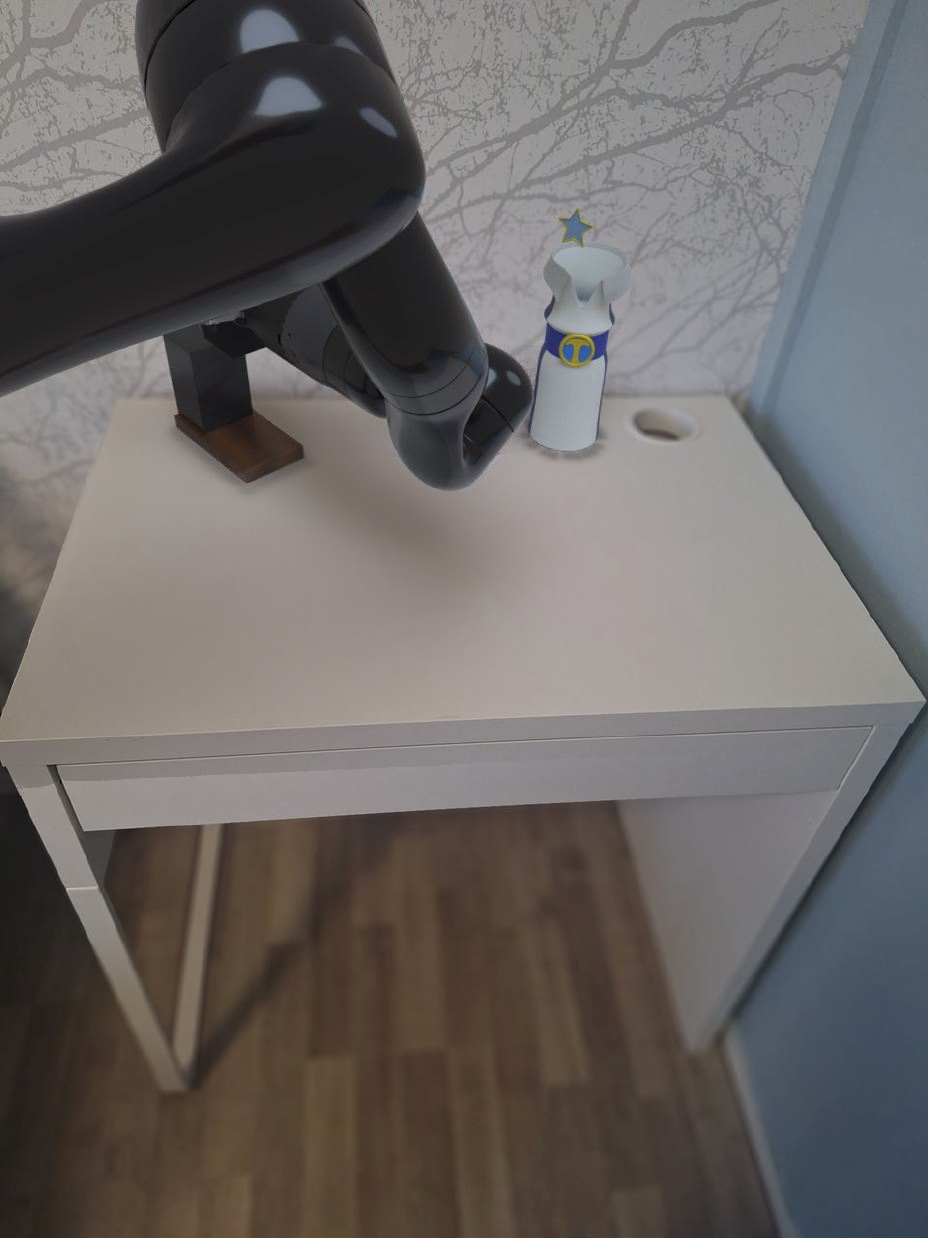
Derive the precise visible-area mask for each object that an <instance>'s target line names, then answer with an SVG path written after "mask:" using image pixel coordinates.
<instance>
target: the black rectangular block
mask: <svg viewBox="0 0 928 1238" xmlns="http://www.w3.org/2000/svg"><path fill="white" fill-rule="evenodd" d="M204 338H205V339H206V340H208V341H209V342H211V343H212V344H213V345H215V346H216V347H218V348H219V349H220V350H222V351H223V352H225V353H226V354H227V355H229V356H230V357H232V358H233V359H235V358H238V357H241V356H243V355H246V356H247V355H248V354H251V353H254V352H258V351H260V350H263V349H266V348H267V347H266V346H265V345H264V344H263V343H262V342H261V341H260V339H259V338H258V337H257V335H256V334H255V333H254V331H253V330H252V329H250V328H247V327H242V326H239V325H237V324H235V323H234V322H233V320H231V321H225V322H219V323H218V324H216V331H215V332H214V333H209V334H207V333H204Z"/></svg>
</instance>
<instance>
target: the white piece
mask: <svg viewBox="0 0 928 1238" xmlns="http://www.w3.org/2000/svg"><path fill="white" fill-rule="evenodd" d="M557 219H558V221H559V222H560V224H561V225H562V226H563V228H564V229H565V232H564V234H563V237H562V241H561V243H560V244H558V245H556V246H555V248H553V249H552V251H551V253H550V256H549V258H548V260H547V262H546V263H545V265H544V267H543V272H542V273H543V274H542V276H543V279H544V281H545V283H546V285H547V286H548V287H549V289H550V290H551V293H552V297H551V300H550V303H549V304H548V305H547V306H546V308H545V309H544V312H543V317H544V320H545V321H546V327H545V335H544V342H543V344H542V346H541V348H540V351H539V355H538V358H537V364H536V365H537V366H536V374H535V381H534V387H533V391H534V401H533V405H532V408H531V410H530V412H529V419H528V422H527V423H528V424H527V432H528V433H527V434H528V435H529V437H530V438H531V439H532V440H533V441H534V442H535V443H537V444H539V445H540V446H542V447H545V448H548V449H549V450H554V451H560V452H577V451H581V450H584V449H587V448H589V447H591V446H593V445H594V444H595V443H596V441H597V440H598V437H599V431H600V429H599V428H600V421H601V420H600V419H601V413H602V412H601V411H602V403H603V398H604V397H603V396H604V390H605V384H606V377H607V371H608V362H609V361H608V352H607V346H608V339H609V333H610V329H611V328H612V327H614V324H615V322H616V318H615V315H614V313H613V310H612V303H614V302H616V301H617V300H619V299H621V298H622V297H624V296H625V295H626V294H627V293H628V292H629V290H630V289H631V286H632V284H633V272H632V268H631V265H630V262H629V258H628V256H627V254H626V253H625V252H624V250H622V249H620V248H619V247H617V246H614V245H611V244H609V243H606V242H601V241H595V240H584V234H585V233H587V232H588V231H589V230H592V229H593V228H594V227H595V226H594V225H593V224H592V223H591V224H590V223H588V222H586V221H584V220H582V216H581V212H580V208H579V207H577V208H576V209H575V211H574V212H573V213H572V215H571V216H570V217H564V216H562V217H558V218H557Z"/></svg>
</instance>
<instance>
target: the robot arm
mask: <svg viewBox="0 0 928 1238" xmlns="http://www.w3.org/2000/svg"><path fill="white" fill-rule="evenodd" d="M134 20H135V21H134V33H133V35H134V43H135V44H134V46H135V54H136V62H137V70H138V76H139V82H140V86H141V91H142V94H143V97H144V101H145V104H146V108H147V110H148V113H149V116H150V120H151V124H152V127H153V130H154V134H155V137H156V140H157V144H158V148H159V150H160V155H159V156H158V157H155V159H153V160H152V161H150V162H149V163H147V164H145V165H144V166H142V167H140V168H138V169H136V170H134V171H132V172H131V173H129V174H127V175H124V176H122V177H120V178H119V179H116V180H115V181H111V182H110V183H108V184H106V185H104V186H101V187H99V188H96V189H93V190H91V191H88V192H85V193H84V194H81V195H79V196H76V197H73V198H71V199H68V200H65V201H63V202H60V203H58V204H54V205H52V206H49V207H46V208H42V209H37V210H35V211H30V212H25V213H18V214H11V215H0V399H1V398H3V397H6V396H8V395H10V394H12V393H15V392H18V391H20V390H22V389H25V388H27V387H29V386H32V385H35V384H36V383H38V382H41V381H44V380H45V379H48V378H50V377H52V376H55V375H57V374H60V373H63V372H65V371H68V370H71V369H73V368H75V367H78V366H80V365H83V364H85V363H86V364H87V363H88V362H91V361H93V360H96V359H98V358H99V359H100V358H101V357H103V356H106V355H109V354H112V353H114V352H117V351H119V350H120V351H121V350H123V349H126V348H128V347H131V346H135V345H137V344H140V343H143V342H146V341H149V340H152V339H157V338H159V337H163V335H165V334H168V333H172V332H175V331H178V330H181V329H184V328H188V327H191V326H194V325H197V324H198V325H199V327H200V329H201V331H202V332H203V333H207V334H209V333H214V332H215V331H216V324H218V323H219V322H225V321H231V320H233V322H234V323H235V324H237V325H239V326H242V327H247V328H250V329H252V330H253V331H254V333H255V334H256V335H257V337H258V338H259V339H260V341H261V342H262V343H263V344H264V345H265V346H266V348H267V349H268V350H269V351H270V352H272V353H273V354H275V355H277V356H278V357H280V358H281V359H282V360H283V361H286V362H287V363H288V364H290V365H292V366H293V367H294V368H296V369H297V370H298V371H300V372H301V373H303V374H304V375H306V376H308V377H309V378H310V379H312V380H314V381H315V382H317V383H318V384H319V385H323V386H324V387H327V388H330V389H332V390H334V391H336V392H337V393H338V394H339V395H342V397H344V398H346V399H347V400H349V401H350V402H351V403H353V404H355V405H356V406H357V407H359V408H360V409H362V410H363V411H365V412H366V413H368V414H369V415H372V416H374V417H377V418H379V419H383V420H386V423H387V429H388V432H389V436H390V440H391V442H392V446H393V447H394V449H395V452H396V454H397V455H398V457H399V459H400V460H401V462H402V463H403V464H404V466H405V467H406V468H407V470H408V471H409V472H410V473H411V474H412V475H413V476H414V477H416V478H417V480H419V481H420V482H422V483H423V484H425V485H427V486H428V487H430V488H433V489H436V490H438V491H444V492H454V491H455V492H457V491H460V490H463V489H466V488H468V487H470V486H471V485H473V484H474V483H475V482H476V481H477V480H479V478H480V477H481V476H482V475H483V474H484V472H485V471H486V470H487V469H488V467H489V466H490V465H491V463H492V462H493V461H494V459H495V458H496V457H497V456H498V454H499V453H500V452H501V450H502V449H504V447H505V445H506V444H507V443H508V441H510V439H511V438H512V437H513V434H515V433H516V432H517V430H518V429H519V428H520V427H521V426H522V424H523V422H524V421H525V420H526V419H527V417H528V415H530V412H531V408H532V405H533V401H534V386H533V383H532V380H531V378H530V376H529V374H528V372H527V371H526V368H524V366H523V365H522V364H521V363H520V362H519V361H518V360H517V359H516V358H515V357H514V356H512V355H511V354H510V353H508V352H506V351H505V350H503V349H501V348H499V347H497V346H495V345H493V344H490V343H487V342H485V341H484V340H483V337H482V335H481V333H480V330H479V328H478V326H477V324H476V321H475V320H474V318H473V315H472V313H471V310H470V308H469V307H468V304H467V302H466V301H465V299H464V297H463V295H462V293H461V290H460V288H459V287H458V285H457V283H456V281H455V279H454V277H453V275H452V273H451V272H450V269H449V267H448V265H447V263H446V261H445V260H444V258H443V256H442V253H441V252H440V250H439V248H438V247H437V244H436V242H435V241H434V239H433V237H432V235H431V233H430V231H429V229H428V228H427V225H426V223H425V221H424V219H423V217H422V215H421V213H420V211H419V207H420V205H421V204H422V201H423V198H424V194H425V188H426V182H427V170H426V169H427V168H426V162H425V158H424V157H425V156H424V154H423V149H422V146H421V142H420V140H419V139H420V138H419V136H418V133H417V130H416V128H415V126H414V123H413V120H412V117H411V115H410V112H409V109H408V107H407V105H406V103H405V99H404V96H403V93H402V92H401V89H400V86H399V83H398V80H397V78H396V75H395V73H394V71H393V68H392V65H391V63H390V60H389V57H388V55H387V52H386V50H385V46H384V45H383V42H382V39H381V37H380V35H379V32H378V29H377V25H376V23H375V21H374V19H373V16H372V14H371V12H370V10H369V8H368V7H367V5H366V2H365V0H137V2H136V5H135V16H134Z"/></svg>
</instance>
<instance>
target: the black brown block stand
mask: <svg viewBox="0 0 928 1238" xmlns="http://www.w3.org/2000/svg"><path fill="white" fill-rule="evenodd" d="M162 338H163V345H164V348H165V355H166V359H167V364H168V369H169V375H170V379H171V383H172V389H173V394H174V399H175V404H176V409H177V413H176V414H174V415H173V416H174V417H173V418H174V422H175V426H176V428H177V429H178V430H179V431H181V432H182V433H183V434H185V435H186V436H187V437H188V438H189V439H191V440H192V441H193V442H195V443H196V444H197V445H198V446H200V447H201V448H202V449H203V450H204V451H205V452H207V453H208V454H210V455H211V456H212V457H213V458H215V459H216V460H217V461H218V462H220V463H221V464H222V465H223V466H225V468H227V469H228V470H230V471H231V472H232V473H233V474H234V475H236V476H237V477H238V478H240V479H241V480H242V481H243V482H244V483H246V484H249V483H251V482H253V481H255V480H258V479H259V478H262V477H264V476H266V475H268V474H271V473H273V472H276V471H277V470H279V469H282V468H283V467H286V466H288V465H291V464H292V463H294V462H297V461H298V460H302V459H303V458H304V457H305V453H304V445H303V444H302V443H301V442H299V441H298V440H296V439H295V438H294V437H292V436H291V435H290V434H288V433H286V432H285V431H284V430H283V429H281V428H280V427H279V426H277V425H276V424H274V423H273V422H271V421H270V420H269V419H268V418H266V417H265V416H263V415H262V414H260V412H258V411H256V410H255V409H254V408H253V401H252V393H251V386H250V379H249V370H248V363H247V354H246V355H243V356H241V357H238V358H235V359H233V358H232V357H230V356H229V355H227V354H226V353H225V352H223V351H222V350H220V349H219V348H218V347H216V346H215V345H213V344H212V343H211V342H209V341H208V340H206V339H205V338H204V333H203V332H202V331H201V329H200V327H199V325H198V324H197V325H194V326H191V327H188V328H184V329H181V330H178V331H175V332H172V333H168V334H165V335H162Z"/></svg>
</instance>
